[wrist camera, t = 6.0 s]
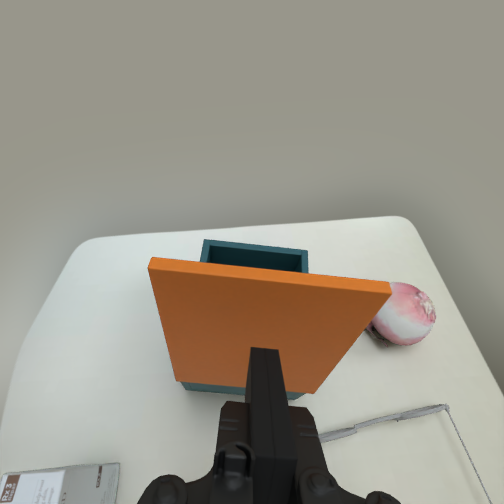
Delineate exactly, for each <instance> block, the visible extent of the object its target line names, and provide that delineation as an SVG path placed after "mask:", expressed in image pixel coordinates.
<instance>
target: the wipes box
mask: <svg viewBox="0 0 504 504" xmlns="http://www.w3.org/2000/svg"><path fill="white" fill-rule="evenodd" d="M200 262H204V263H214V264H223V265H233V266H242V267H252V268H261V269H271V270H280V271H290V272H299V273H308V251H307V250H300V249H291V248H281V247H272V246H263V245H254V244H244V243H235V242H226V241H217V240H207V239H204V242H203V247H202V252H201V258H200ZM181 383H182V385H183V386H184V388H185V389H186V390H193V391H204V392H215V393H226V394H237V395H245V387H234V386H223V385H212V384H201V383H190V382H181ZM304 394H306V393H300V392H289V391H286V395H287V399H292V400H295V399H297V398H299V397H301V396H302V395H304Z"/></svg>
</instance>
